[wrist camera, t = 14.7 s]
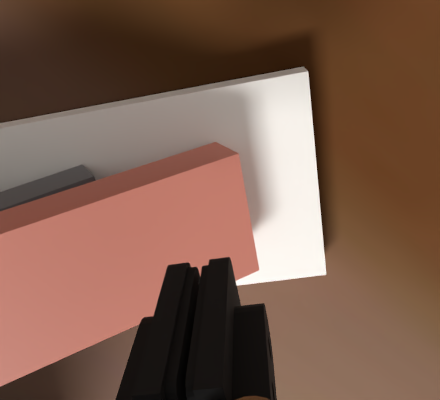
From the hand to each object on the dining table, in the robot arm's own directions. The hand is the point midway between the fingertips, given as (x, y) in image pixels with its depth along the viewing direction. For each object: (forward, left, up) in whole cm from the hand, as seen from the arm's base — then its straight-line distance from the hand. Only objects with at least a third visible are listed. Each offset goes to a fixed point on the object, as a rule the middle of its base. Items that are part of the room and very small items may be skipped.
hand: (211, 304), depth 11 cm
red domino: (-1, 0, -6) cm, 6 cm away
